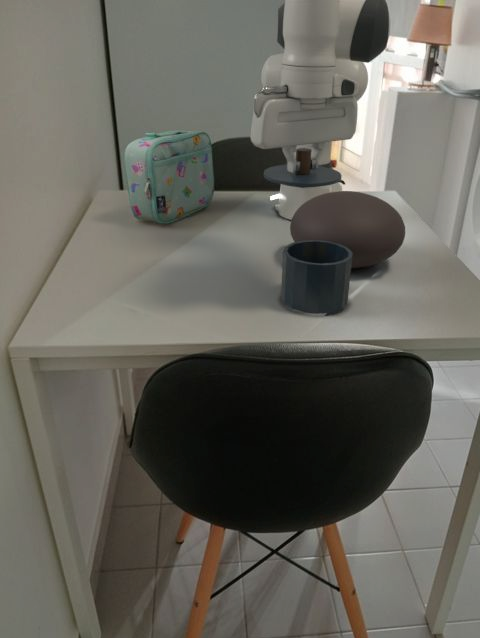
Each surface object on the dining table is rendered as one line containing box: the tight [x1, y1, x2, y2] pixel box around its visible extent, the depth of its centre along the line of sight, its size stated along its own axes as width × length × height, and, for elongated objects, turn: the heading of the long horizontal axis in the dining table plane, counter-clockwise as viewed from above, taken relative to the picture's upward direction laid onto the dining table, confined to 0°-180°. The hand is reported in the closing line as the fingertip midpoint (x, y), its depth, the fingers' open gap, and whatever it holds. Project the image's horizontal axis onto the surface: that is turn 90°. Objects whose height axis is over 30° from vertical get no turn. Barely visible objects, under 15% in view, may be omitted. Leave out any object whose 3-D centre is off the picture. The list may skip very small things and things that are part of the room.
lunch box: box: [123, 129, 215, 225], centre depth 155 cm, size 27×10×21 cm, turn 150°
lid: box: [263, 148, 342, 187], centre depth 106 cm, size 14×14×5 cm
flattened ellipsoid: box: [289, 190, 406, 269], centre depth 131 cm, size 25×25×15 cm
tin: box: [280, 240, 353, 317], centre depth 114 cm, size 13×13×10 cm
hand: (302, 170), depth 106 cm, fingers closed on lid, 2 cm apart
